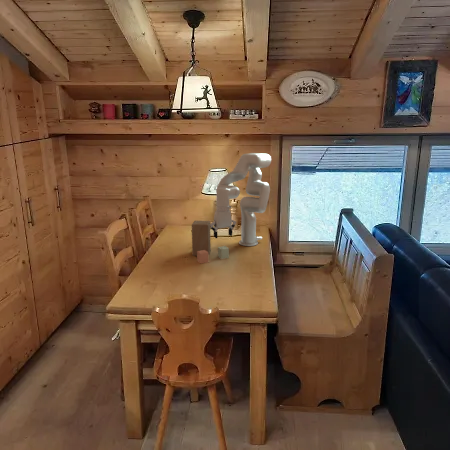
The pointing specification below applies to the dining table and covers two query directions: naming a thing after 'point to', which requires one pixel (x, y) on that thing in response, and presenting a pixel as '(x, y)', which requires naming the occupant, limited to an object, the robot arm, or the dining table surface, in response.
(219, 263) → the dining table surface
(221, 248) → the brick sage
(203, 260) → the brick terracotta
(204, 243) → the wooden block
